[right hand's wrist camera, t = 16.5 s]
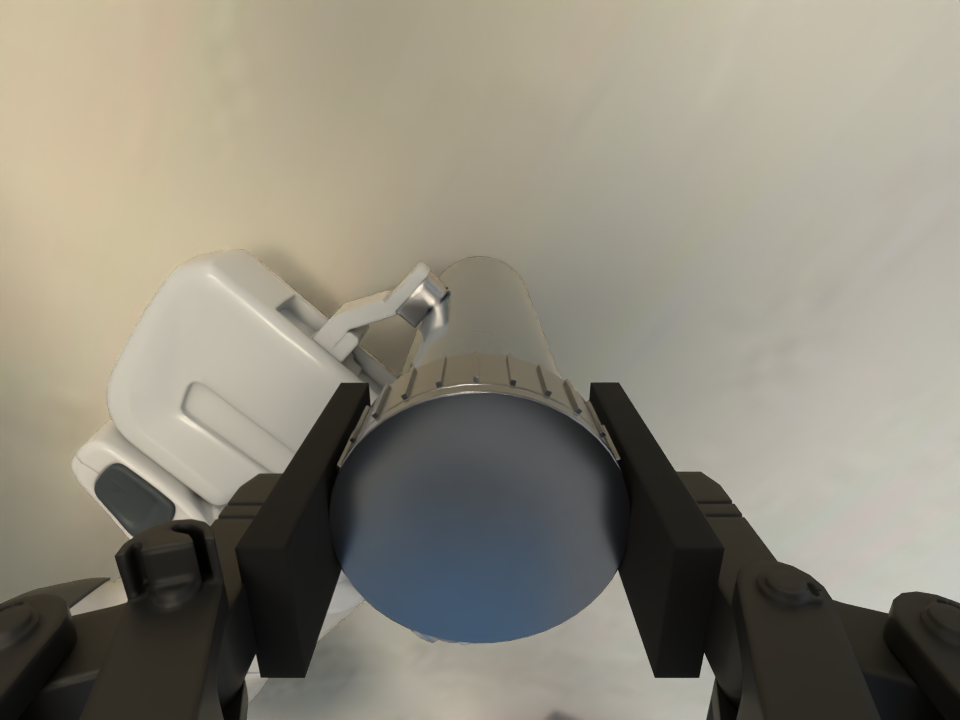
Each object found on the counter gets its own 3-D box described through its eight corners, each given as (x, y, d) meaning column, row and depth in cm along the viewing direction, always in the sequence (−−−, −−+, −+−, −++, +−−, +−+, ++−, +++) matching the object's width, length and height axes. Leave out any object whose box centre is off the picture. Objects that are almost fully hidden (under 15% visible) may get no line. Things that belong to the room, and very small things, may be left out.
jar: (445, 361, 28) (398, 626, 12) (418, 269, 26) (322, 434, 10) (538, 340, 28) (619, 584, 12) (517, 245, 26) (579, 377, 10)
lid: (517, 612, 14) (523, 685, 12) (303, 508, 13) (271, 570, 11) (665, 436, 12) (701, 488, 10) (431, 295, 11) (421, 324, 9)
